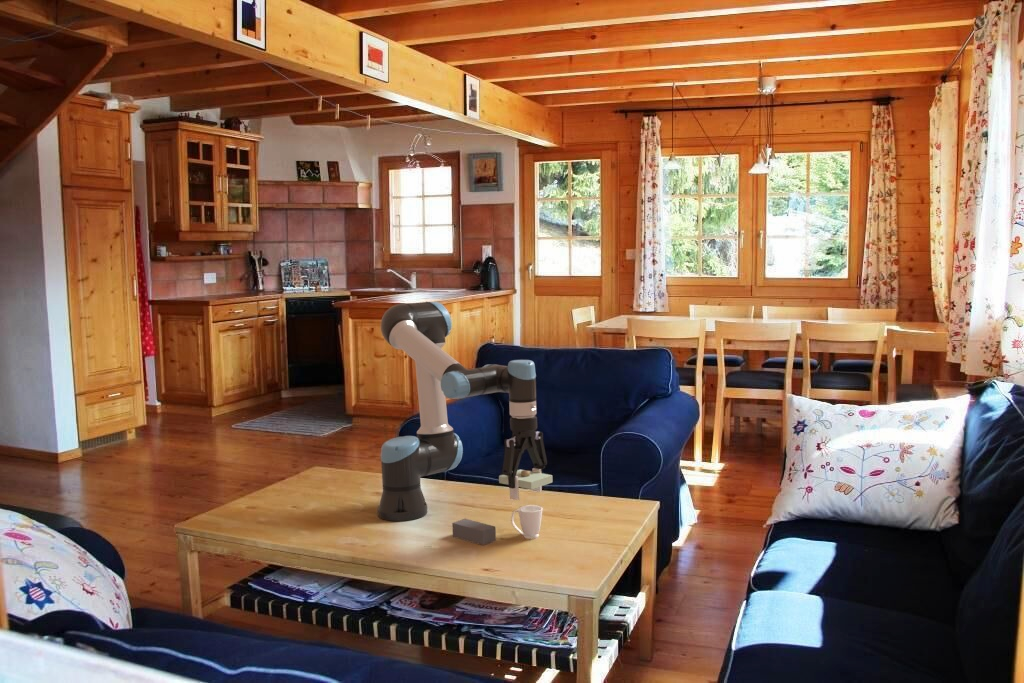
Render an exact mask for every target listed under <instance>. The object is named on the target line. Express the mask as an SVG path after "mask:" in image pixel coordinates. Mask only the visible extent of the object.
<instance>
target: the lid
mask: <svg viewBox="0 0 1024 683" xmlns="http://www.w3.org/2000/svg"><path fill="white" fill-rule="evenodd" d="M516 476H518V484H519V488H522V489H527V490H530V491H531V490H532V491H533V489H535V488H538V487H541V486H542V487H543V486H546V485H549V484H552V483H553V475H552V474H549V473H543V472H542V473H537V472H532V470H525V469H518V470H517V474H516ZM498 483H499V484H503V485H508V476H506V475H503V474H500V475H499V476H498Z"/></svg>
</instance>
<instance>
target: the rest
mask: <svg viewBox="0 0 1024 683" xmlns="http://www.w3.org/2000/svg"><path fill="white" fill-rule="evenodd" d="M496 535H497V534H496V526H495V525H491V524H487V523H484V522H479V521H475V520H471V519H468V518H463V519H460V520H457V521H453V522H452V537H453V538H457V539H460V540H463V541H466V542H471V543H473V544H477V545H480V546H486V545H488V544H491V543H493V542H496V541H497V536H496Z"/></svg>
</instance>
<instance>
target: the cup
mask: <svg viewBox="0 0 1024 683" xmlns="http://www.w3.org/2000/svg"><path fill="white" fill-rule="evenodd" d="M516 512H518V516H519V521H520V523H519V524H520V526H521V529H520V528H519V527H518V526H517V525H516V523H515V521H514V520H515V513H516ZM542 516H543V507H542V506H539V505H537V504H527V505H522V506H519V507H518V509H515V510H512V513H511V516H510V518H511V520H510V521H511V525H512V526H513V528H514V529H515V530H516V532H518V533H519V534H520V535H522V536H523V538H525V539H527V540H528V539H529V540H531V539H532V540H533V539H538V538H539V537H540V534H539V533H540V530H541V524H542Z"/></svg>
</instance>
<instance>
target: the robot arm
mask: <svg viewBox="0 0 1024 683" xmlns="http://www.w3.org/2000/svg"><path fill="white" fill-rule="evenodd" d="M452 326H453V325H452V318H451V314H450V312H449V311H448V309H447V308H446V307H445V305H444V304H442V303H440V302H438V301H422V302H421V301H420V302H411V303H398V304H395V305H393V306H391V307H389V308H388V309H387V310H385V312H384V314H383V315H382V318H381V321H380V332H381V335H382V337H383V338H384V340H385V341H386V343H387V344H389V345H390V346H391V347H392V348H393V349H396V350H402V351H403V352H404V353H405V354H406V355H408V356H409V357H410V358H411V359H412V360H414V362H415V363H414V365H415V374H416V376H415V377H416V385H417V386H416V387H417V397H418V408H419V409H418V410H419V418H420V419H419V420H420V421H419V422H420V427H419V428H418V430H417V431H416V436H415V435H404V436H396V437H393V438H390V439H388V440H387V441H385V442H383V444H382V445H381V448H380V461H381V462H380V463H381V480H382V491H381V492H382V493H381V497H380V500H379V505H378V507H377V516H378V517H379V518H380V519H382V520H384V521H389V522H390V521H391V522H401V521H402V522H406V521H412V520H417V519H420V518H422V517H423V518H424V516H426V515H427V514H428V504H427V502H426V499H425V496H424V493H423V491H422V486H421V478H422V477H425V476H430V475H434V474H438V473H446V472H448V471H451V470H454V469H455V468H457V466H458V465H459V464H460V462H461V461H462V458H463V455H464V454H463V453H464V452H463V451H464V448H463V443H462V440H461V438H460V437H459V435H458V434H457V433H455V432H454V428H453V426H451V425H450V424H449V421H448V410H447V409H448V408H447V399H450V400H455V399H457V400H460V399H465V398H470V397H474V396H479V395H480V396H481V395H488V394H493V393H507V394H508V396H509V398H508V402H509V403H508V404H509V416H510V418H509V425H510V426H509V428H510V430H511V431H512V436H511V438H509V439H507V438H505V439H504V455H503V462H502V470H501V471H502V474H501V475H506V476H508V488H509V499H510V500H514V501H515V500H516V501H519V500H520V490H519V488H520V487H519V484H518V476H516V474H517V470H519V466H520V462H521V459H522V455H523V454H524V452H525V450H527V453H528V455H529V457H530V460H531V462H532V464H533V468H531V469H532V470H531V471H532V472H537V473H542V474H543V470H544V469H545V468H546V466H547V464H548V459H547V455H546V449H545V443H544V433H543V432H542V431H538V430H537V429H538V417H537V413H538V412H537V381H536V380H537V379H536V377H537V374H536V365H535V362H534V361H533V360H530V359H513V360H510V361H509V362H508V364H507V365H501V364H495V363H494V364H493V363H492V364H485V365H484V366H482V367H476V368H470V369H469V368H466V367H465V366H464V365H463V364H461V363H460V361H457V360H456V359H455V358H453V356H451V355H450V354H449V353H448V352H446V351H445V350H443V347H444V346H445V344H446V338H447V337H448V336H449V335H450V333H451V330H452ZM446 398H447V399H446ZM542 489H543V486H541V487H538V488H535V489H532V491H533V492H538V493H541V492H543V490H542Z"/></svg>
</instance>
